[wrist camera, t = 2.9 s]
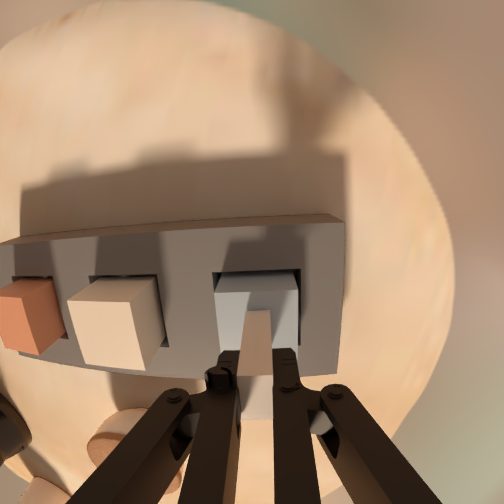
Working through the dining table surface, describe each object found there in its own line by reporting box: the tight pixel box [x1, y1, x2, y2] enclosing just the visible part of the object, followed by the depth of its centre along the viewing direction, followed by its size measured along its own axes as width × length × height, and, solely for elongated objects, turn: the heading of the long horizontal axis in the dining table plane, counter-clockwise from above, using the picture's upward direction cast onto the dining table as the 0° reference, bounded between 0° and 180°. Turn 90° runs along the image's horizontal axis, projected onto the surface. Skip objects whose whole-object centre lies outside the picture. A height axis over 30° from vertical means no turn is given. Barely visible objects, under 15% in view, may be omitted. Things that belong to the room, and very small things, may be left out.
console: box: [0, 214, 345, 379], centre depth 24 cm, size 32×12×5 cm, turn 93°
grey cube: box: [214, 269, 298, 360], centre depth 21 cm, size 5×5×5 cm
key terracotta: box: [0, 278, 67, 356], centre depth 20 cm, size 5×5×5 cm
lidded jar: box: [87, 408, 184, 494], centre depth 26 cm, size 11×11×9 cm
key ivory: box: [67, 277, 166, 371], centre depth 20 cm, size 5×5×5 cm
